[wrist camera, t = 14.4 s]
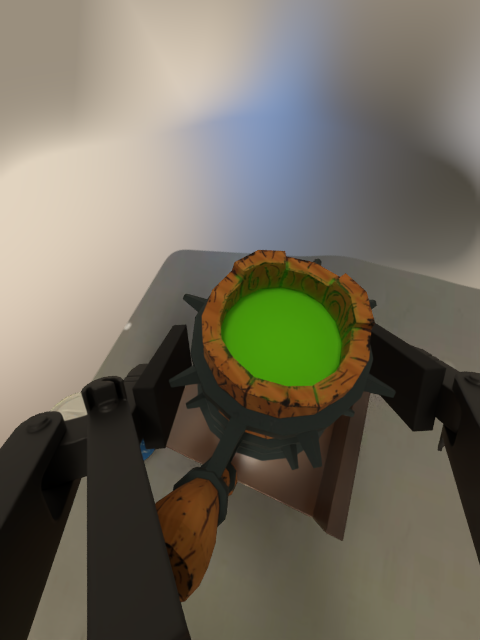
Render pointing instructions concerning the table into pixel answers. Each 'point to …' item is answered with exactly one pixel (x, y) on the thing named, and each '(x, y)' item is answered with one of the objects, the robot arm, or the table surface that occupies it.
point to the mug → (265, 385)
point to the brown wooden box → (287, 464)
